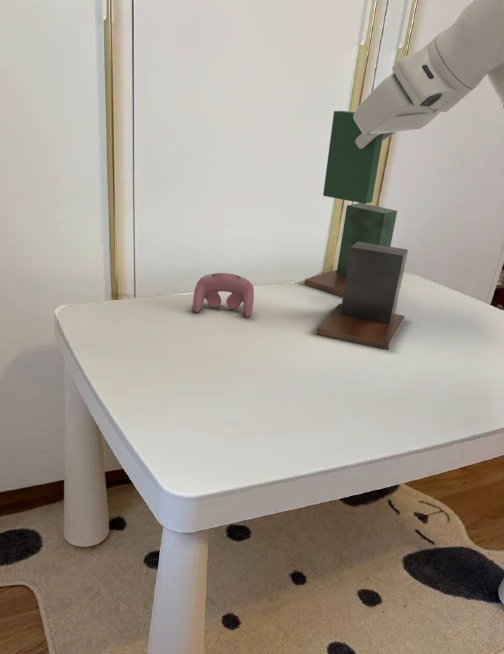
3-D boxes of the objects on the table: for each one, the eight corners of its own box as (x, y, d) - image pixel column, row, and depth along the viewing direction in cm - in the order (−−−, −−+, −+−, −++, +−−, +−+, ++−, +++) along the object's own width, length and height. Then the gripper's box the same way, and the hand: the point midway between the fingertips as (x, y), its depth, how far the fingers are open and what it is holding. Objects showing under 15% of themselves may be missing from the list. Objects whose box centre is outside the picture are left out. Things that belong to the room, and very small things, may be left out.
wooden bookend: (403, 321, 104) (419, 249, 99) (387, 349, 94) (404, 270, 88) (338, 308, 108) (349, 238, 103) (316, 334, 97) (327, 257, 92)
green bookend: (393, 286, 121) (407, 211, 115) (353, 300, 113) (367, 220, 106) (345, 271, 128) (356, 200, 121) (304, 284, 119) (314, 208, 113)
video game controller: (252, 319, 106) (256, 277, 106) (251, 316, 101) (256, 272, 101) (193, 314, 107) (197, 272, 106) (190, 310, 102) (195, 267, 102)
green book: (372, 202, 103) (386, 115, 97) (365, 203, 102) (379, 115, 95) (329, 194, 108) (340, 110, 101) (322, 195, 106) (333, 111, 100)
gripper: (454, 61, 97) (384, 124, 107) (394, 57, 83) (320, 130, 93) (476, 95, 96) (403, 155, 106) (420, 98, 82) (343, 166, 93)
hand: (364, 144), depth 100 cm, fingers closed on green book, 2 cm apart
